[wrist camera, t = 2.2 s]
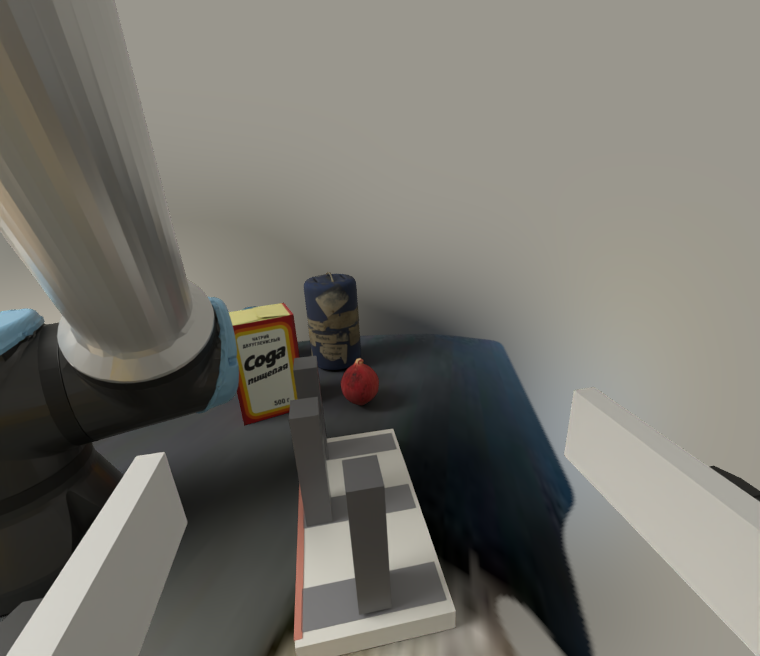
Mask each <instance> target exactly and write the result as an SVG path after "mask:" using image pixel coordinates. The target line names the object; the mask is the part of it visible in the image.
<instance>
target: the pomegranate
mask: <svg viewBox="0 0 760 656" xmlns="http://www.w3.org/2000/svg"><path fill="white" fill-rule="evenodd" d="M378 387H379V379H378V376H377V374H376V373H375V372H374V370H373V369H372V368H371V367H369V366H368V365H365V364H363V360H362V359H361V358H359V359H356V361H355V363H354V364H353V365H352V366H350V367H349V368H348V369H347V370H346V371H345V373H344V375H343V377H342V380H341V388H342V392H343V395H344V396H345V398H346V399H347V400H349V401H350V402H352V403H354V404H357V405H365V404H366V403H367V402H369V401H371V400H372V399H373V398H374V397H375V395H376V394H377V392H378Z"/></svg>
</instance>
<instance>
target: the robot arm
mask: <svg viewBox="0 0 760 656" xmlns="http://www.w3.org/2000/svg"><path fill="white" fill-rule="evenodd" d="M0 232H1V234H2V235H3V236H4V238H5V239H6V240H7V242H8V243H9V245H10V246H11V247H12V249H13V250H14V251H15V252H16V254H17V255H18V257H19V258H20V259H21V261H22V262H23V263H24V264H25V266H26V267H27V268H28V270H29V271H30V272H31V274H32V275H33V277H34V278H35V279H36V281H37V282H38V283H39V285H40V286H41V287H42V288H43V290H44V291H45V293H46V294H47V295H48V297H49V298H50V299H51V300H52V302H53V303H54V305H55V306H56V307H57V309H58V310H59V311H60V313H61V314H62V316H61V319H60V321H59V323H54V324H44V319H43V317H42V316H40V315H39V314H38V313H37V312H36V311H35V310H33V309H21V310H8V311H2V312H0V616H1V615H5V614H8V613H10V614H9V615H8V616H7V617H6V618H5V619H4V620H3V621H2V622H1V623H0V656H138V655H139V653H140V650H141V647H142V645H143V642H144V639H145V636H146V634H147V631H148V628H149V626H150V623H151V620H152V617H153V615H154V612H155V609H156V607H157V604H158V601H159V598H160V596H161V593H162V590H163V588H164V585H165V582H166V580H167V577H168V574H169V571H170V569H171V566H172V563H173V561H174V558H175V555H176V552H177V550H178V547H179V544H180V542H181V539H182V536H183V533H184V531H185V528H186V525H187V523H188V522H187V519H186V516H185V513H184V510H183V507H182V504H181V501H180V497H179V494H178V491H177V488H176V485H175V482H174V479H173V476H172V473H171V470H170V467H169V464H168V460H167V457H166V454H165V452H161V453H155V454H148V455H141V456H136V458H135V459H134V461H133V462H132V464H131V465H130V467H129V468H128V470H127V471H126V473H125V475H123V474H122V473H121V472H120V471H118V470H117V469H116V468H115V467H114V466H113V465H112V464H111V463H109V462H108V461H107V460H106V459H105V458H104V457H103V456H102V455H101V454H99V453H98V452H97V451H96V450H95V449H94V447H93V445H92V442H94V441H98V440H101V439H104V438H108V437H111V436H115V435H118V434H122V433H125V432H129V431H133V430H136V429H140V428H143V427H147V426H150V425H154V424H157V423H161V422H165V421H168V420H172V419H175V418H179V417H182V416H186V415H189V414H193V413H203V412H206V411H208V410H209V409H210V408H213V407H216V406H219V405H222V404H225V403H227V402H228V401H230V400H231V399H232V398H233V397H234V396H235V394H236V392H237V389H238V383H239V365H238V361H237V358H236V357H237V346H236V340H235V334H234V329H233V325H232V321H231V318H230V315H229V312H228V310H227V307H226V305H225V303H224V302H223V301H222V300H221V299H219V298H215V297H211V298H210V297H207V295H206V294H205V292H204V291H203V290H202V289H201V288H200V287H199V286H197V285H196V284H195V283H193V282H191V281H190V280H188V279H187V278H186V274H185V270H184V267H183V262H182V259H181V255H180V251H179V247H178V243H177V239H176V236H175V232H174V228H173V224H172V220H171V217H170V213H169V209H168V205H167V201H166V197H165V194H164V190H163V186H162V182H161V178H160V175H159V171H158V167H157V163H156V159H155V156H154V151H153V148H152V144H151V140H150V136H149V132H148V128H147V124H146V121H145V117H144V113H143V109H142V105H141V101H140V98H139V93H138V89H137V86H136V82H135V78H134V74H133V70H132V66H131V63H130V59H129V55H128V51H127V47H126V43H125V39H124V35H123V32H122V28H121V24H120V20H119V17H118V12H117V8H116V4H115V1H114V0H0ZM564 456H565V457H566V458H567V459H568V460H569V461H570V462H571V463H572V464H573V465H574V466H575V467H576V468H577V469H578V470H579V471H580V472H581V473H582V475H583V476H585V478H586V479H587V480H588V481H589V482H590V483H591V484H592V485H593V486H594V487H595V488H596V489H597V490H598V491H599V492H600V493H601V494H602V495H603V496H604V498H605V499H606V500H607V501H608V502H609V503H610V504H611V505H612V506H613V507H614V508H615V509H616V510H617V511H618V512H619V513H620V514H621V515H622V516H623V517H624V518H625V519H626V520H627V522H628V523H629V524H630V525H631V526H632V527H633V528H634V529H635V530H636V531H637V532H638V533H639V534H640V535H641V536H642V537H643V538H644V539H645V540H646V541H647V542H648V543H649V545H650V546H652V548H653V549H654V550H655V551H656V552H657V553H658V554H659V555H660V556H661V557H662V558H663V559H664V560H665V561H666V562H667V563H668V564H669V565H670V566H671V567H672V569H673V570H675V572H676V573H677V574H678V575H679V576H680V577H681V578H682V579H683V580H684V581H685V582H686V583H687V584H688V585H689V586H690V587H691V588H692V589H693V590H694V591H695V593H696V594H697V595H698V596H699V597H700V598H701V599H702V600H703V601H704V602H705V603H706V604H707V605H708V606H709V607H710V608H711V609H712V610H713V611H714V612H715V613H716V614H717V615H718V617H719V618H720V619H722V621H723V622H724V623H725V624H726V625H727V626H728V627H729V628H730V629H731V630H732V631H733V632H734V633H735V634H736V635H737V636H738V637H739V638H740V639H741V640H742V641H743V643H744V644H745V645H746V646H747V647H748V648H749V649H750V650H751V651H752V652H753V653H754V654H755V655H756V656H760V491H759V490H757V489H756V488H754V487H753V486H752V485H750V484H749V483H747V482H745V481H744V480H743V479H741V478H739V477H737V476H735V475H733V474H731V473H728V472H726V471H724V470H722V469H720V468H718V467H715V466H710V467H709V466H707V465H706V464H704V463H703V462H701V461H700V460H699V459H697V458H696V457H694V456H693V455H691V454H690V453H688V452H687V451H686V450H684V449H683V448H681V447H680V446H678V445H677V444H676V443H674V442H672V441H671V440H670V439H668V438H667V437H665V436H664V435H662V434H661V433H660V432H658V431H657V430H655V429H654V428H652V427H651V426H650V425H648V424H647V423H645V422H644V421H642V420H641V419H639V418H638V417H637V416H635V415H634V414H632V413H631V412H629V411H628V410H626V409H625V408H624V407H622V406H621V405H619V404H618V403H616V402H615V401H613V400H612V399H611V398H609V397H608V396H606V395H605V394H603V393H602V392H601V391H599V390H598V389H596V388H595V387H591V388H584V389H577V390H574V392H573V399H572V406H571V412H570V419H569V426H568V432H567V439H566V446H565V452H564Z"/></svg>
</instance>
